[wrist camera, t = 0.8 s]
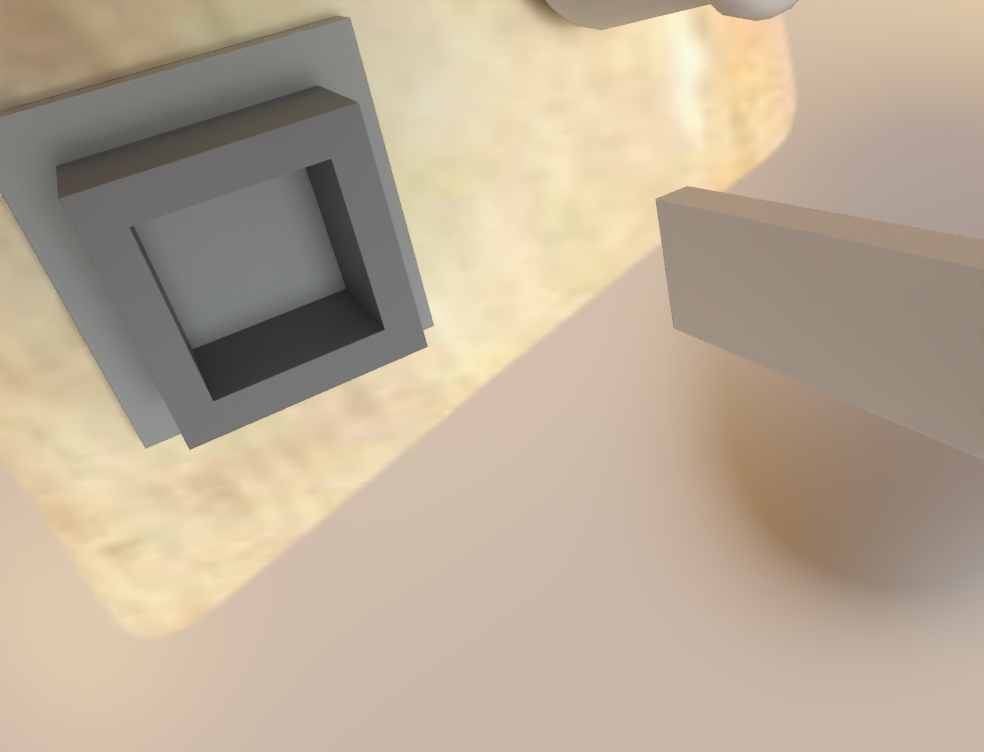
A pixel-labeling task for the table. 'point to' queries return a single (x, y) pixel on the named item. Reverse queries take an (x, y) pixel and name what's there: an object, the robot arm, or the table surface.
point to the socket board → (221, 229)
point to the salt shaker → (658, 10)
